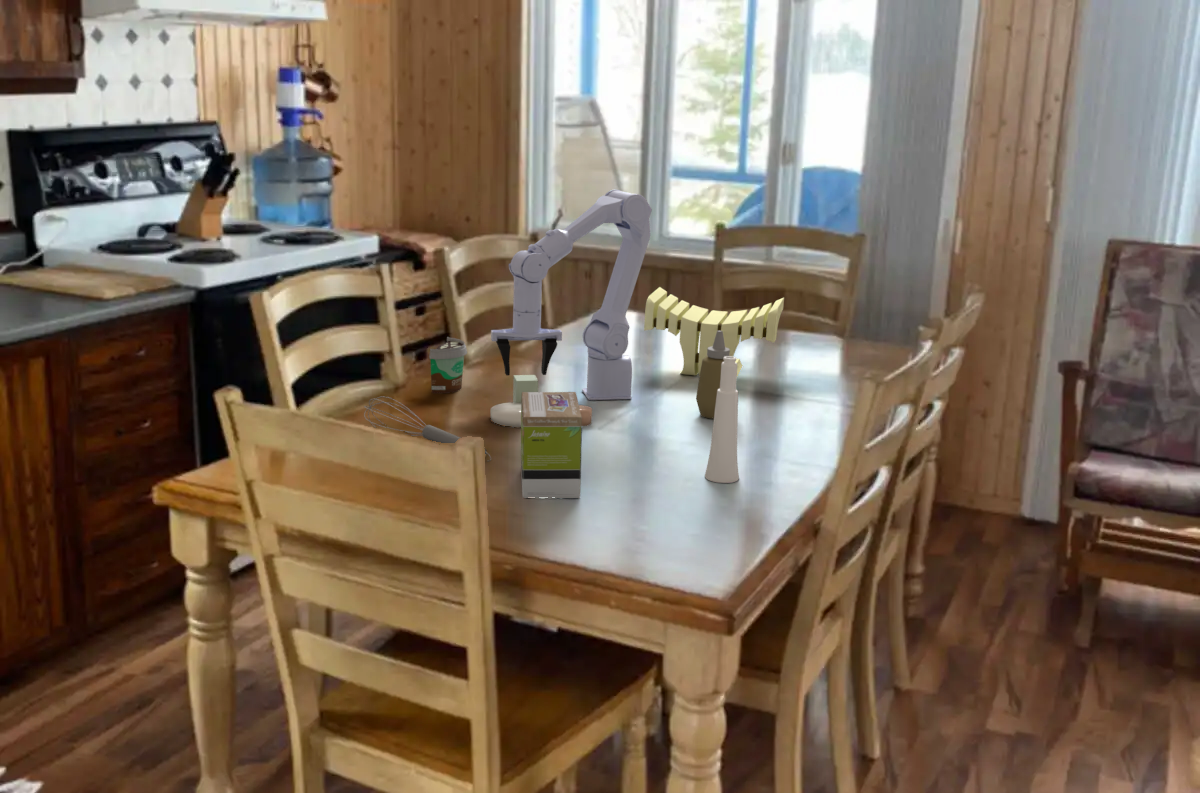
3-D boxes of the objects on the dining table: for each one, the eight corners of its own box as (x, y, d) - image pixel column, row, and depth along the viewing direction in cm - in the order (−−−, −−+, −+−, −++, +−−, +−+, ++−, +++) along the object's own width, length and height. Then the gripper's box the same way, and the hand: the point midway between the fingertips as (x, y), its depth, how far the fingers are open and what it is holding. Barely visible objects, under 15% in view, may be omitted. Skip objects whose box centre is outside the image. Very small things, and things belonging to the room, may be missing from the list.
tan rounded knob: (588, 419, 246) (589, 404, 245) (593, 426, 241) (594, 411, 241) (564, 419, 245) (565, 405, 244) (569, 427, 240) (569, 412, 240)
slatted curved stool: (642, 373, 282) (645, 298, 277) (656, 358, 297) (659, 286, 292) (770, 386, 275) (776, 310, 270) (778, 370, 290) (784, 297, 285)
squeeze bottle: (737, 413, 254) (743, 329, 249) (728, 423, 246) (734, 337, 241) (700, 408, 256) (705, 325, 251) (690, 418, 249) (695, 333, 244)
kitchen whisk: (479, 468, 215) (479, 434, 213) (356, 427, 236) (356, 396, 234) (503, 460, 220) (503, 427, 218) (381, 421, 240) (380, 391, 239)
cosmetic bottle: (743, 482, 212) (752, 361, 206) (710, 484, 211) (718, 362, 205) (732, 471, 218) (741, 352, 212) (700, 472, 216) (708, 353, 210)
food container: (456, 397, 257) (457, 351, 255) (429, 394, 258) (429, 349, 256) (474, 382, 269) (474, 339, 266) (447, 380, 270) (447, 336, 267)
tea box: (519, 469, 215) (520, 389, 211) (575, 470, 215) (578, 390, 211) (520, 500, 200) (522, 414, 196) (581, 500, 201) (584, 415, 197)
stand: (540, 410, 250) (540, 401, 249) (549, 426, 239) (549, 417, 239) (487, 412, 248) (487, 402, 247) (494, 428, 237) (494, 418, 237)
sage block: (534, 402, 256) (534, 374, 254) (537, 408, 252) (538, 380, 250) (513, 402, 255) (513, 375, 254) (516, 408, 251) (516, 380, 249)
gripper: (558, 305, 253) (556, 368, 257) (489, 306, 250) (488, 369, 254) (564, 312, 247) (562, 377, 250) (493, 313, 244) (492, 378, 247)
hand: (525, 374), depth 252 cm, fingers open, 7 cm apart
